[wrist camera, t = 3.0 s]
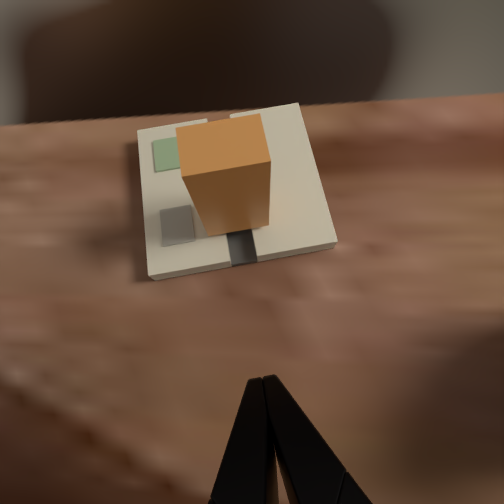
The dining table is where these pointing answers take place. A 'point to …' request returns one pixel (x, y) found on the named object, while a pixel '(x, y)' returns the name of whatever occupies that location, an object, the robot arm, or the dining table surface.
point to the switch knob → (227, 172)
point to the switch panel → (239, 242)
